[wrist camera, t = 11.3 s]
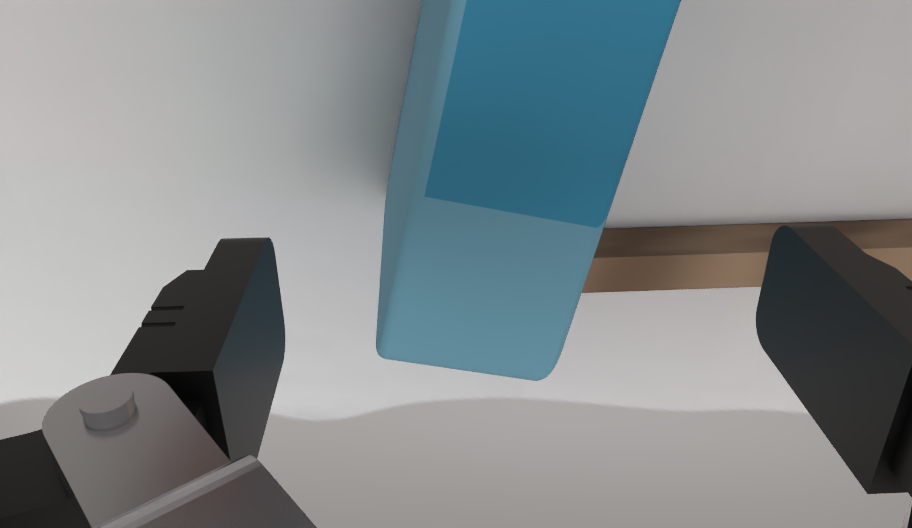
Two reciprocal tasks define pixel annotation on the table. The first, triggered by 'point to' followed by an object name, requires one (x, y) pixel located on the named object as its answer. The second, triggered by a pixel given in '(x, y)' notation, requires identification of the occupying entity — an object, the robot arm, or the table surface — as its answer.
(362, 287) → the table surface
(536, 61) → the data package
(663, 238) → the walnut u-shaped frame
